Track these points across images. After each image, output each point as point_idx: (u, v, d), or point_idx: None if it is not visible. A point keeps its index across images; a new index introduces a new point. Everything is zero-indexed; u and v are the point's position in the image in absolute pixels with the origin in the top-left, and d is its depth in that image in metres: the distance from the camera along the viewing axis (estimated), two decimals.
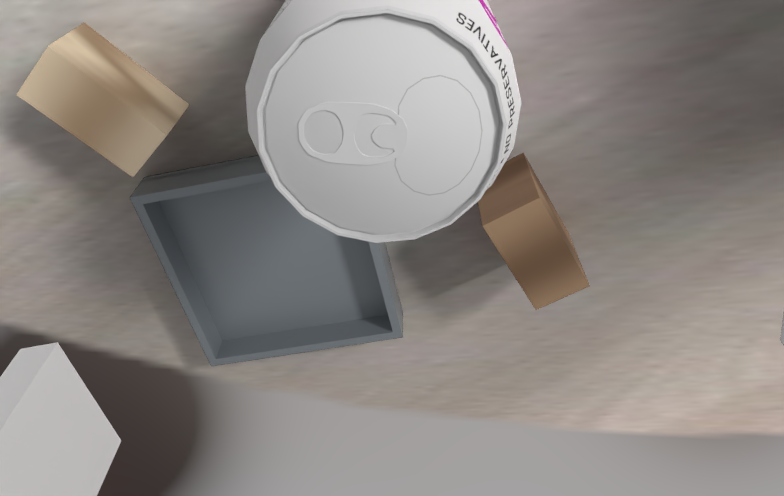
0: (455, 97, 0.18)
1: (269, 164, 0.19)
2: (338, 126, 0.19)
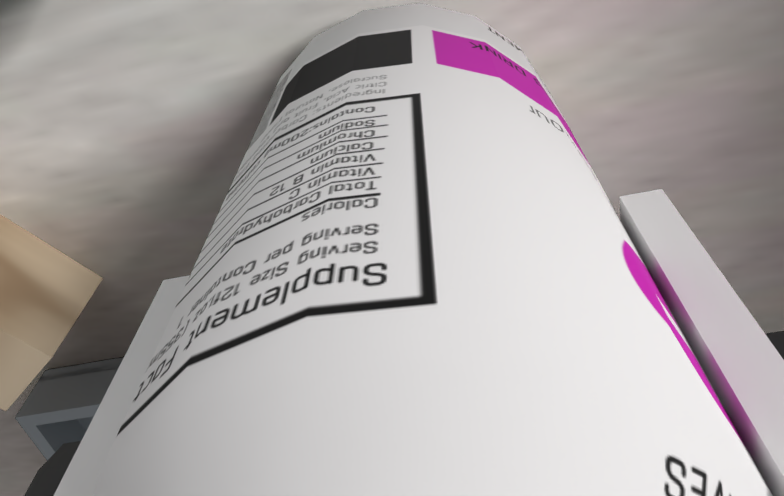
0: None
1: None
2: None
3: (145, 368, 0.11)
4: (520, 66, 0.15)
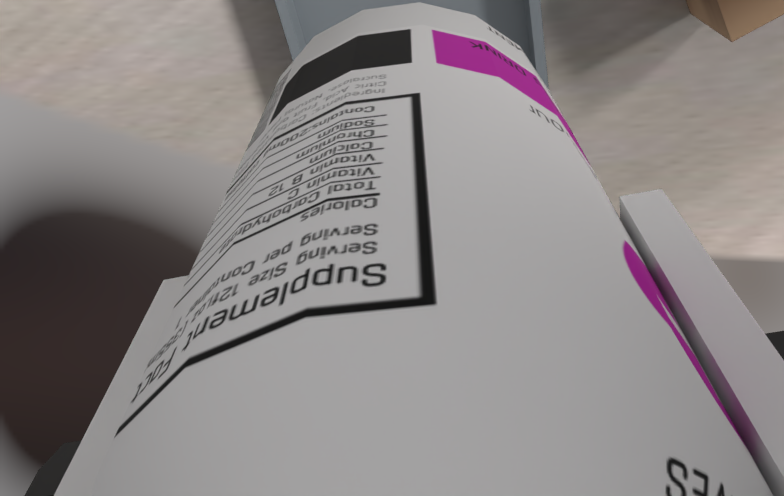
0: None
1: None
2: None
3: (145, 368, 0.11)
4: (520, 66, 0.15)
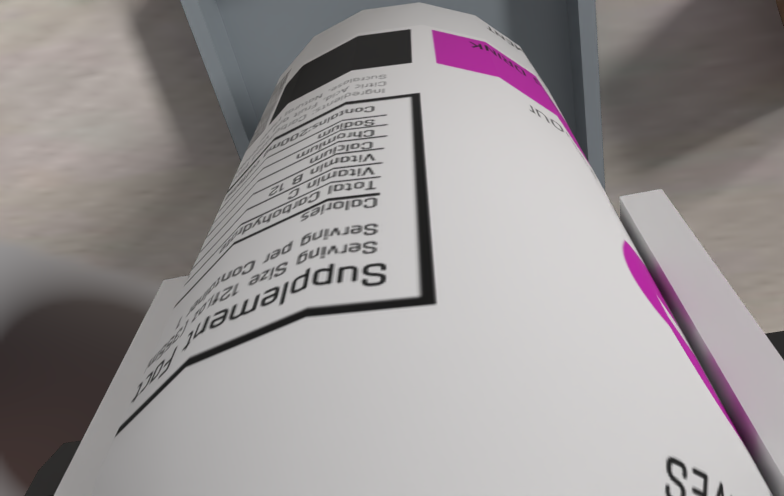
0: None
1: None
2: None
3: (145, 368, 0.11)
4: (520, 66, 0.15)
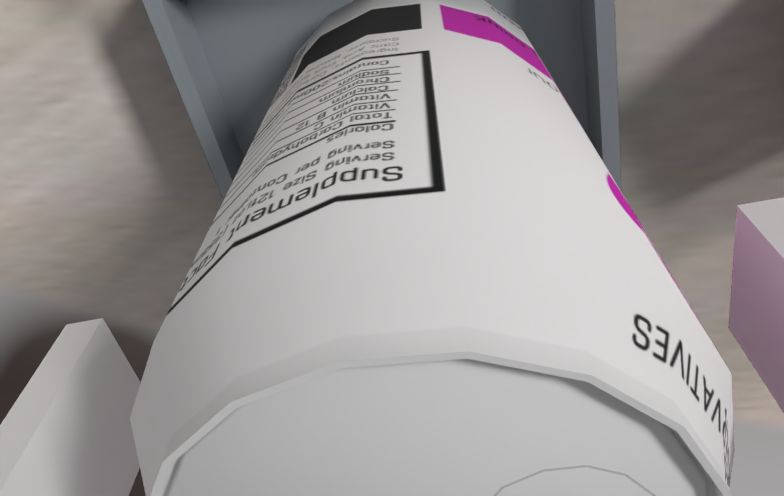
0: None
1: None
2: None
3: (25, 427, 0.10)
4: (520, 40, 0.16)
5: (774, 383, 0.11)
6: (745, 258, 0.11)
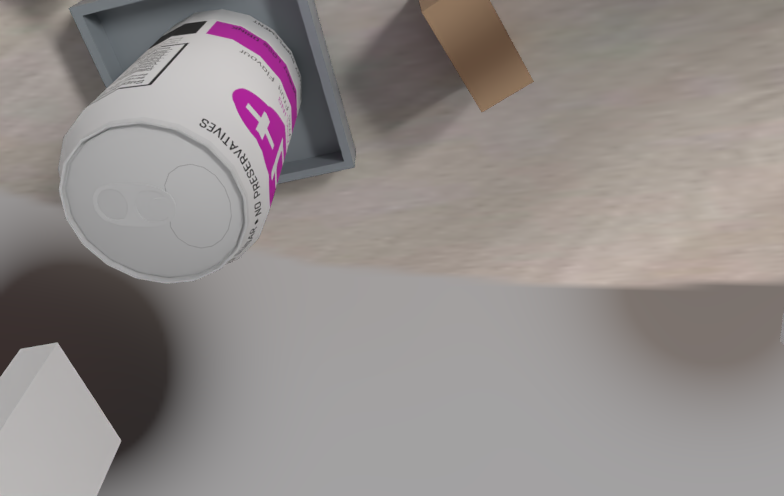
0: (204, 179, 0.25)
1: (75, 227, 0.26)
2: (123, 199, 0.25)
3: None
4: (259, 37, 0.33)
5: None
6: None
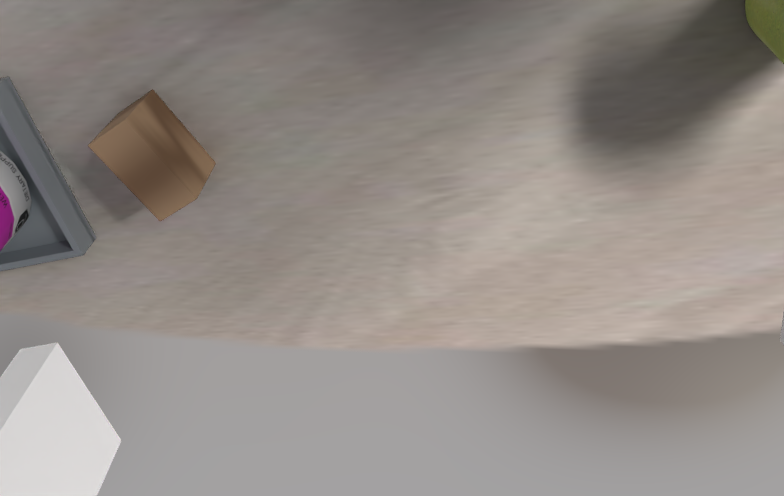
0: None
1: None
2: None
3: None
4: None
5: None
6: None
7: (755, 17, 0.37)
